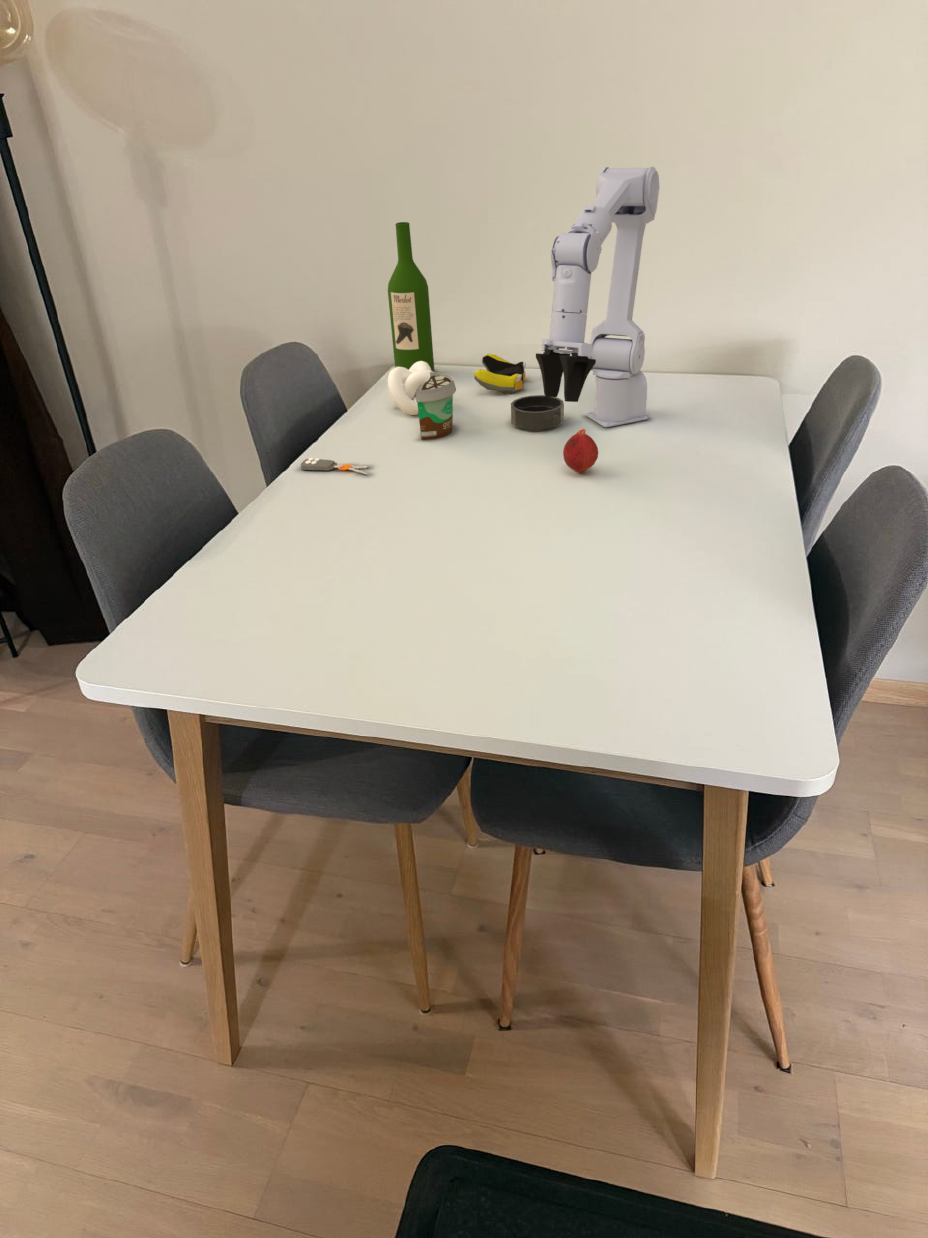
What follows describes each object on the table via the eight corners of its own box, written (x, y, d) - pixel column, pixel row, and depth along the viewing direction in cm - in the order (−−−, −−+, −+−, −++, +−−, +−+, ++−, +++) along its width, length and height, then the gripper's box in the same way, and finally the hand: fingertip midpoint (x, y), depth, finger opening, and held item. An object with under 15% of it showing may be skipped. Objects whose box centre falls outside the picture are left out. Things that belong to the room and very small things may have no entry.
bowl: (549, 411, 182) (549, 392, 180) (572, 426, 174) (572, 406, 172) (503, 420, 179) (502, 400, 177) (524, 436, 171) (523, 415, 169)
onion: (575, 482, 151) (575, 437, 147) (556, 471, 156) (556, 427, 151) (604, 474, 153) (605, 429, 149) (585, 464, 158) (585, 420, 154)
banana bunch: (473, 397, 192) (520, 397, 190) (472, 371, 189) (519, 371, 187) (484, 376, 205) (528, 375, 203) (483, 351, 202) (527, 351, 200)
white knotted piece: (383, 403, 192) (378, 361, 187) (437, 395, 194) (434, 354, 190) (394, 420, 182) (390, 376, 178) (451, 411, 185) (448, 368, 180)
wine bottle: (392, 381, 205) (376, 227, 188) (400, 369, 212) (386, 220, 195) (430, 381, 204) (418, 225, 186) (437, 369, 211) (427, 218, 194)
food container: (451, 443, 170) (447, 391, 165) (419, 442, 171) (415, 391, 166) (464, 420, 180) (461, 371, 175) (434, 420, 181) (430, 370, 176)
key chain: (299, 471, 162) (298, 463, 161) (307, 463, 165) (306, 455, 164) (366, 475, 159) (365, 467, 158) (374, 467, 162) (373, 459, 161)
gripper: (528, 310, 151) (521, 393, 155) (567, 312, 138) (558, 402, 142) (566, 313, 153) (558, 395, 157) (608, 315, 140) (598, 404, 145)
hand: (560, 399), depth 150 cm, fingers open, 7 cm apart
